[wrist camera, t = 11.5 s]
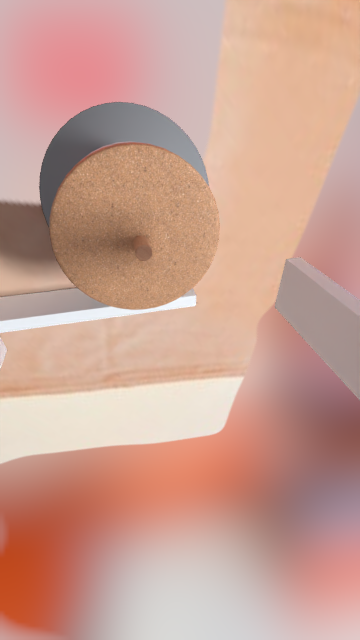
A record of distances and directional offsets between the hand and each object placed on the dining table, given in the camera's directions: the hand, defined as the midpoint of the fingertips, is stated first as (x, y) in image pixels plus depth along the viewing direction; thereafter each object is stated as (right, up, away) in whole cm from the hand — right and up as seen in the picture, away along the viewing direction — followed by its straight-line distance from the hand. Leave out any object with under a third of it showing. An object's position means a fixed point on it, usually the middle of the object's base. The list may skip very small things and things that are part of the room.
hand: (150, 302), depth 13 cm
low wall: (-9, +2, +15) cm, 18 cm away
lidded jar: (-3, +9, +11) cm, 15 cm away
